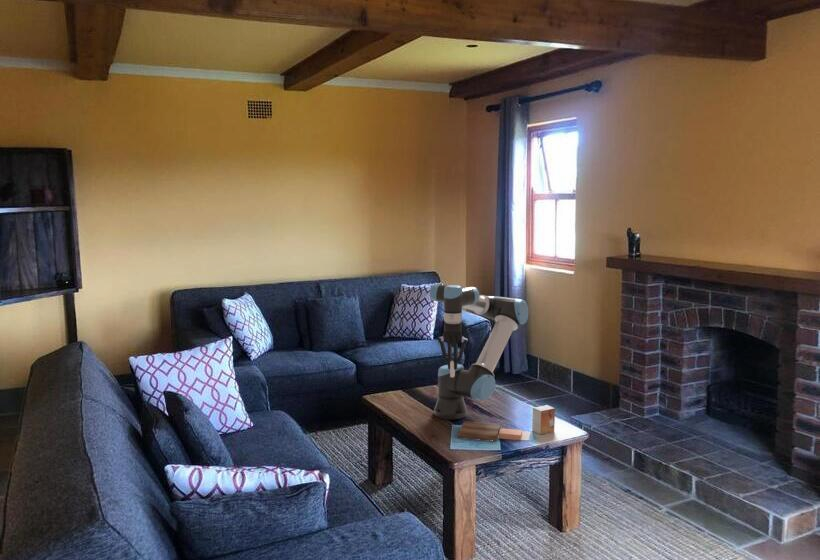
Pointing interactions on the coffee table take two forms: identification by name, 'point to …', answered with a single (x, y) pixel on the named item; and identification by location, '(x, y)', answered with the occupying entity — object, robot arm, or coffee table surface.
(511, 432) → the salmon flat rectangular block
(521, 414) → the coffee table surface
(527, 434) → the mat
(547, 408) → the small box
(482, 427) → the board
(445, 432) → the coffee table surface
